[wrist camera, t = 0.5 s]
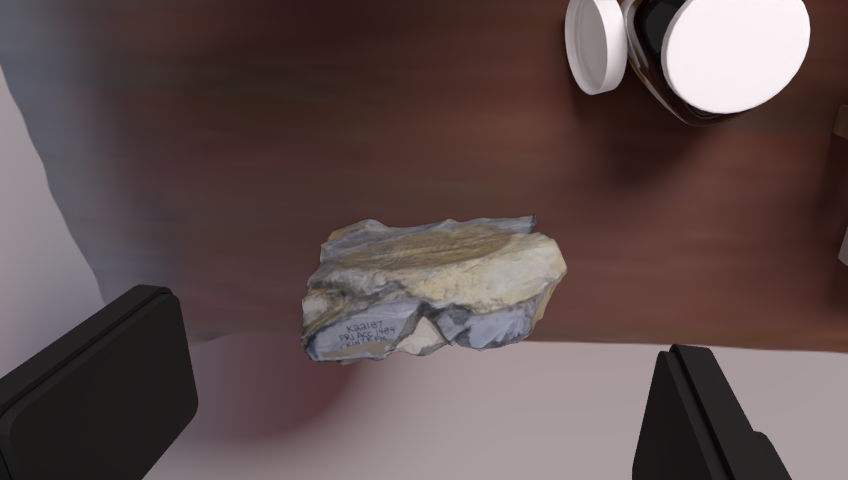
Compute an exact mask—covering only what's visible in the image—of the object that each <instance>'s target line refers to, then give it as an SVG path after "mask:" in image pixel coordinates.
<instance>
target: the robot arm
mask: <svg viewBox="0 0 848 480" xmlns="http://www.w3.org/2000/svg"><path fill="white" fill-rule="evenodd" d="M197 408H198V396H197V391H196V385H195V380H194V375H193V370H192V365H191V359H190V354H189V349H188V344H187V338H186V333H185V328H184V323H183V317H182V312H181V307H180V302H179V299H178V298H177V297H176V296H174V295H173V293H172V291H171V290H170V289H169V288H167V287H160V286H151V285H137V286H135V287H133V288H132V289H130V290H129V291H127V292H126V293H124V294H123V295H121V296H120V297H119V298H117V299H116V300H114V301H113V302H111V303H110V304H108V305H107V306H105V307H104V308H103V309H101V310H100V311H98V312H97V313H95V314H94V315H93V316H91V317H89V318H88V319H87V320H85V321H84V322H82V323H81V324H79V325H78V326H76V327H75V328H73V329H72V330H71V331H69V332H68V333H66V334H65V335H63V336H62V337H61V338H59V339H58V340H56V341H55V342H53V343H52V344H50V345H49V346H48V347H46V348H44V349H43V350H42V351H40V352H39V353H37V354H36V355H34V356H33V357H31V358H30V359H28V360H27V361H26V362H24V363H23V364H21V365H20V366H18V367H17V368H16V369H14V370H13V371H11V372H10V373H8V374H7V375H5V376H4V377H2V378H1V379H0V480H142V479H143V477H144V476H145V475H146V474H147V472H148V471H149V470H150V469H151V468H152V467H153V465H154V464H155V463H156V462H157V461H158V460H159V458H160V457H161V456H162V455H163V454H164V452H165V451H166V450H167V449H168V448H169V446H170V445H171V444H172V443H173V442H174V440H175V439H176V438H177V437H178V436H179V434H180V433H181V432H182V431H183V429H184V428H185V427H186V426H187V425H188V424H189V423H190V421H191V420H192V419H193V417H194V416H195V414H196V411H197ZM632 480H792V479H791V477H790V475H789V474H788V472H787V470H786V468H785V466H784V464H783V463H782V461H781V459H780V457H779V455H778V454H777V452H776V450H775V448H774V446H773V445H772V443H771V442H770V440H769V439H768V438H767V436H766V435H764V434H763V433H761V432H756V431H753V429H752V427H751V425H750V423H749V421H748V419H747V417H746V415H745V414H744V412H743V410H742V408H741V406H740V404H739V402H738V400H737V398H736V397H735V395H734V393H733V391H732V389H731V387H730V385H729V383H728V381H727V380H726V378H725V376H724V374H723V372H722V370H721V368H720V366H719V364H718V363H717V361H716V359H715V357H714V355H713V353H712V351H711V350H710V349H709V348H705V347H696V346H687V345H678V344H673V345H672V346H671V348H670V350H669V352H667V351H660V352H659V354H658V357H657V361H656V365H655V369H654V374H653V378H652V383H651V387H650V391H649V396H648V400H647V405H646V409H645V413H644V418H643V422H642V427H641V431H640V435H639V440H638V444H637V449H636V453H635V457H634V462H633V467H632Z"/></svg>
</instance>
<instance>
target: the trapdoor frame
mask: <svg viewBox="0 0 848 480" xmlns="http://www.w3.org/2000/svg"><path fill="white" fill-rule="evenodd" d="M832 133H834V134H836V135H838V136H841V137H843V138H845V139H848V105H840V106H839V110H838V113H837V117H836V120H835V124H834V127H833V131H832Z"/></svg>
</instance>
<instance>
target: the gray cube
mask: <svg viewBox="0 0 848 480" xmlns="http://www.w3.org/2000/svg"><path fill="white" fill-rule="evenodd" d="M838 259H839V260H841V261H842V262H843V263H844V264H845V265H847V266H848V227H847V230H846V233H845V236H844V240H843V243H842V246H841V249H840V252H839V255H838Z"/></svg>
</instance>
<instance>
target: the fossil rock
mask: <svg viewBox="0 0 848 480" xmlns="http://www.w3.org/2000/svg"><path fill="white" fill-rule="evenodd" d="M535 225H536V216H535V215H531V216H526V217H519V218H500V219H488V218H477V219H473V220H471V221H465V222H457V221H454V220H452V219H447V220H445V221H442V222H438V223H433V224H426V225H420V226H414V227H407V228H395V227H387V226H385V225H383V224H382V223H380V222H378V221H376V220H373V219H366V220H362V221H360V222H358V223H355V224H351V225H348V226H346V227H344V228H342V229H336V230H333V232H332V233H331V235H330V237H329V238H328V241H327V242H325V243H324V244H322V245H321V255H320V261H321V264H320V266H319V268H318V269H317V271H316V272H315V273H314V274H313V275H312V276H311V277H310V278H309V280H308V284H307V290H308V295H307V296H306V297H305V298H304V299H302V305H303V311H304V314H303V322H304V325H303V332H302V336H301V344H300V345H301V347H302V350H303V351H304V352H306V353H307V354H308V356H309V358H310V360H314V361H315V360H316V361H317V362H323V361H326V362H332V361H337V362H338V363H340V364H341V365H347V364H352V363H357V362H360V361H361V360H362V359H364V358H367V359H372V360H375V361H379V360H383V359H385V358H386V357H387V356H388V355H389V354H391V353H394V352H401V351H404V352H406V353H409V354H412V355H417V356H425V355H428V354H431V353H432V352H434V351H436V350H437V349H439V348H441V347H442V346H444V345H447V344H449V345H451V346H453V345H454V344H455V343H458V344H459V345H461V346H464V347H468V348H473V349H477V350H478V351H482V350H485V349H488V348H499V347H502V346H505V345H508V344H512V343H518V342H520V341H522V340H523V339H525V338H526V337H528V335H529V334H531V333H532V331H533V330H534V327H535V324H536V322H537V321H538V320H540V319H542V318H543V315H544V310H545V307H546V305H547V303H548V301H549V299H550V297H551V295H552V293H553V291H554V289H555V287H556V286H557V284H559V283H560V281H561V279H562V278H563V277H564V275H565V274H566V273H567V266H566V264H565V261H564V259H563V256H562V254H561V251H560V249H559V246H558V244H557V243H556V242H555V240H554V239H552V238H549V237H547V236H546V235H544V234H543V233H542V232H536V233H533V234H531V232H532V229H533V227H534V226H535Z"/></svg>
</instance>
